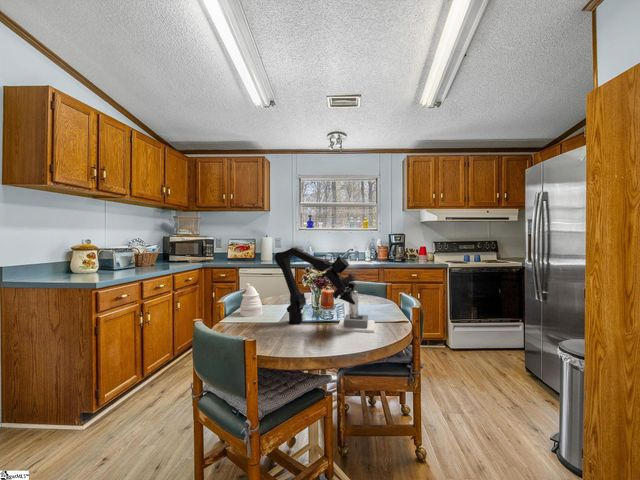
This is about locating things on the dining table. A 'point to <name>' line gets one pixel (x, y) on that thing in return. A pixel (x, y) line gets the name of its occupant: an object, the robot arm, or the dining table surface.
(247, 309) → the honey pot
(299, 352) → the dining table surface
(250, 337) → the dining table surface
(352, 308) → the grey cylindrical piece
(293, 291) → the robot arm
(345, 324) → the mount
